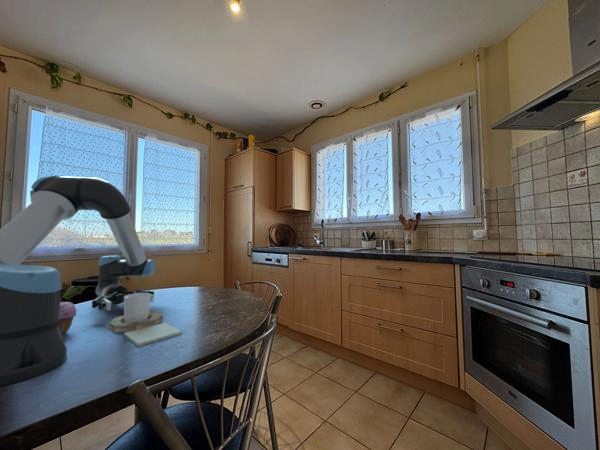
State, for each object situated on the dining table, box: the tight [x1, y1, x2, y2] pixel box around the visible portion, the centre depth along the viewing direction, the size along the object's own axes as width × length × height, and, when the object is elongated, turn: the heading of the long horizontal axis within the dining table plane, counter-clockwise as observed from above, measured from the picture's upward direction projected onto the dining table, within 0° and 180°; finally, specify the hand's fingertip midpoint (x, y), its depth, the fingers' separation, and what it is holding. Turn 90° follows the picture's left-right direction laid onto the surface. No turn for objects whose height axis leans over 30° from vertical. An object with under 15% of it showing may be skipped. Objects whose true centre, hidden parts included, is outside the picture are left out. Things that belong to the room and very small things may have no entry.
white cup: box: [123, 293, 151, 323], centre depth 87 cm, size 8×8×10 cm
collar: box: [107, 311, 163, 333], centre depth 87 cm, size 15×15×2 cm
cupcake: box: [59, 301, 77, 335], centre depth 77 cm, size 9×9×10 cm
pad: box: [123, 322, 182, 348], centre depth 77 cm, size 12×12×1 cm
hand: (132, 302), depth 91 cm, fingers open, 13 cm apart
